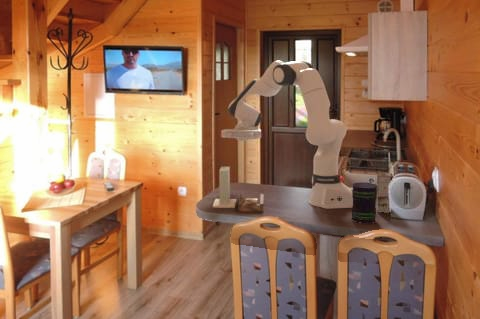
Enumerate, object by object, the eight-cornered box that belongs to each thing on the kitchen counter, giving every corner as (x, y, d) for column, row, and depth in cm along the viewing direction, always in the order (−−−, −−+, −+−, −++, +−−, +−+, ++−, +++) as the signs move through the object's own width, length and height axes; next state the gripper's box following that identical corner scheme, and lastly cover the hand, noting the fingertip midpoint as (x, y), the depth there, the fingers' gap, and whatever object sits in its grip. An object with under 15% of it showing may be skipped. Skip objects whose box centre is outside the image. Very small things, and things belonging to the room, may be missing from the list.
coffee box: (392, 213, 214) (394, 177, 211) (376, 212, 215) (378, 176, 213) (390, 207, 223) (392, 172, 220) (375, 207, 224) (377, 172, 221)
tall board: (229, 199, 234) (229, 166, 232) (228, 205, 225) (228, 170, 222) (221, 199, 235) (221, 166, 232) (219, 205, 225) (219, 170, 222)
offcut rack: (263, 201, 235) (263, 194, 234) (263, 211, 217) (263, 203, 216) (240, 200, 235) (240, 193, 235) (238, 211, 217) (238, 203, 217)
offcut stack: (257, 208, 222) (257, 198, 221) (257, 210, 219) (257, 200, 218) (244, 208, 222) (244, 198, 221) (244, 210, 219) (244, 199, 218)
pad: (236, 200, 236) (236, 199, 236) (234, 207, 223) (234, 206, 223) (215, 200, 236) (215, 198, 236) (212, 207, 224) (212, 205, 223)
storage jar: (373, 217, 208) (374, 182, 206) (378, 224, 199) (379, 188, 196) (349, 216, 209) (350, 182, 207) (353, 223, 199) (354, 187, 197)
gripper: (222, 126, 256) (219, 129, 242) (261, 126, 255) (261, 129, 241) (222, 138, 257) (219, 141, 243) (261, 138, 256) (261, 142, 242)
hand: (240, 135), depth 242 cm, fingers open, 8 cm apart
